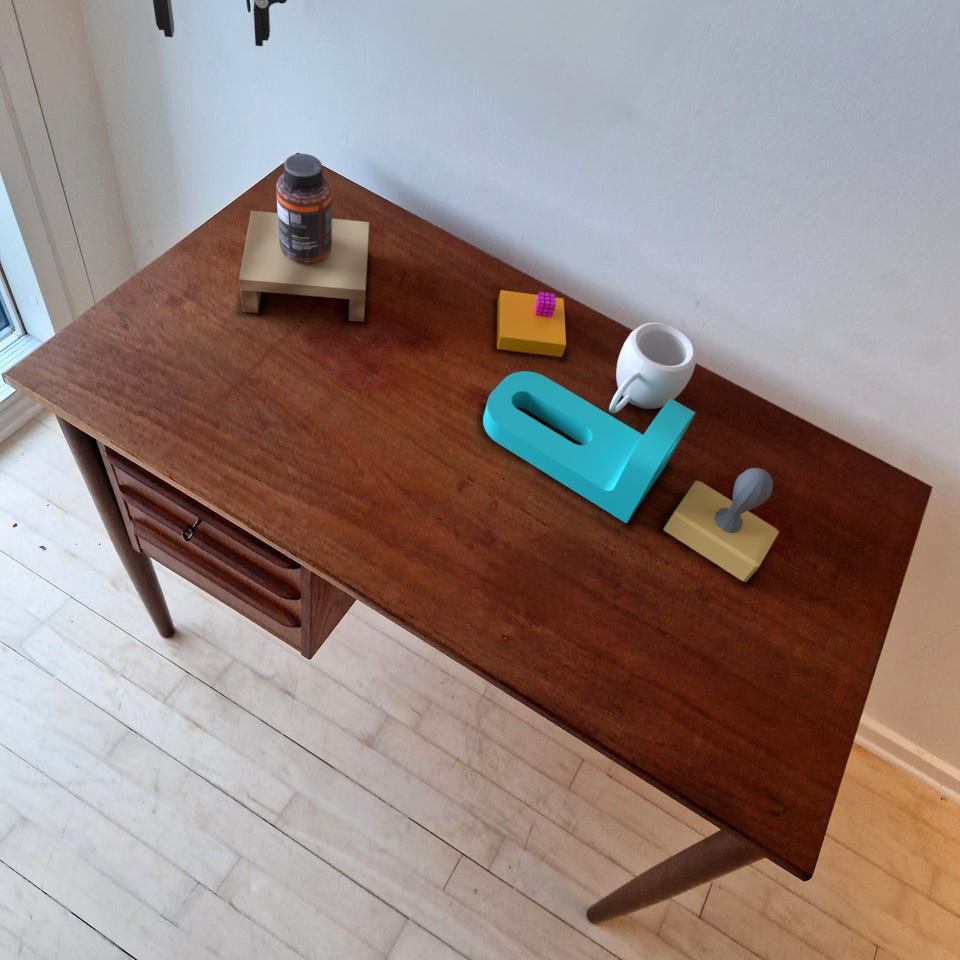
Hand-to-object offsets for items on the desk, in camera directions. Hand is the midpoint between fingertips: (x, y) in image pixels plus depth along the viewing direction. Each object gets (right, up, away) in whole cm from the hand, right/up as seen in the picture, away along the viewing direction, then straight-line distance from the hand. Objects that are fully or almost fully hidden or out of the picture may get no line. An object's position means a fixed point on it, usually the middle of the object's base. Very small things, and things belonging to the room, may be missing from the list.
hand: (215, 38), depth 83 cm
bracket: (+36, -40, +10) cm, 55 cm away
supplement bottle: (+6, -17, +15) cm, 23 cm away
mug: (+44, -34, +16) cm, 58 cm away
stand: (+5, -20, +19) cm, 28 cm away
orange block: (+32, -26, +20) cm, 46 cm away
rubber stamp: (+51, -50, +6) cm, 72 cm away
